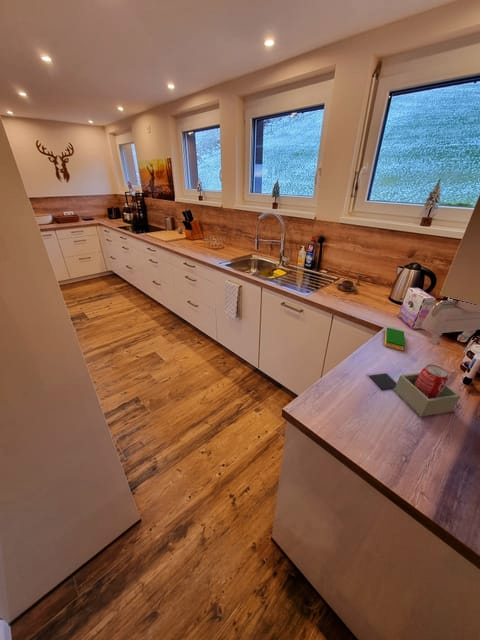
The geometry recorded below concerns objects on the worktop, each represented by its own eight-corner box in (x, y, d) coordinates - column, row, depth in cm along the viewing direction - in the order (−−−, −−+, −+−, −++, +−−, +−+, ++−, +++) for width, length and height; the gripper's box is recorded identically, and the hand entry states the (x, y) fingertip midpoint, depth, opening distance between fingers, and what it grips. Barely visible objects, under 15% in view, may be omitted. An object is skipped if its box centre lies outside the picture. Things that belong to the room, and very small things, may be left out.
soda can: (433, 395, 87) (448, 367, 82) (436, 410, 82) (453, 381, 76) (409, 388, 90) (421, 360, 84) (411, 402, 84) (425, 373, 78)
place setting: (331, 284, 178) (333, 276, 175) (358, 283, 181) (360, 275, 178) (344, 294, 163) (347, 285, 160) (373, 293, 166) (376, 284, 163)
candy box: (423, 329, 127) (437, 298, 119) (411, 329, 127) (424, 298, 119) (408, 316, 139) (419, 287, 131) (397, 315, 139) (407, 286, 131)
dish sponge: (402, 335, 122) (404, 331, 121) (403, 350, 111) (405, 346, 110) (385, 331, 125) (387, 327, 123) (384, 345, 114) (386, 341, 113)
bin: (422, 385, 92) (429, 371, 89) (451, 411, 82) (461, 396, 79) (393, 389, 90) (400, 375, 87) (420, 416, 80) (428, 401, 77)
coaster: (385, 374, 97) (386, 373, 97) (399, 387, 91) (399, 386, 91) (369, 376, 96) (369, 375, 96) (381, 389, 90) (382, 389, 90)
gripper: (448, 306, 65) (426, 351, 72) (512, 302, 69) (486, 345, 76) (427, 296, 70) (409, 339, 77) (488, 292, 74) (466, 333, 81)
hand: (448, 342), depth 76 cm, fingers open, 8 cm apart
